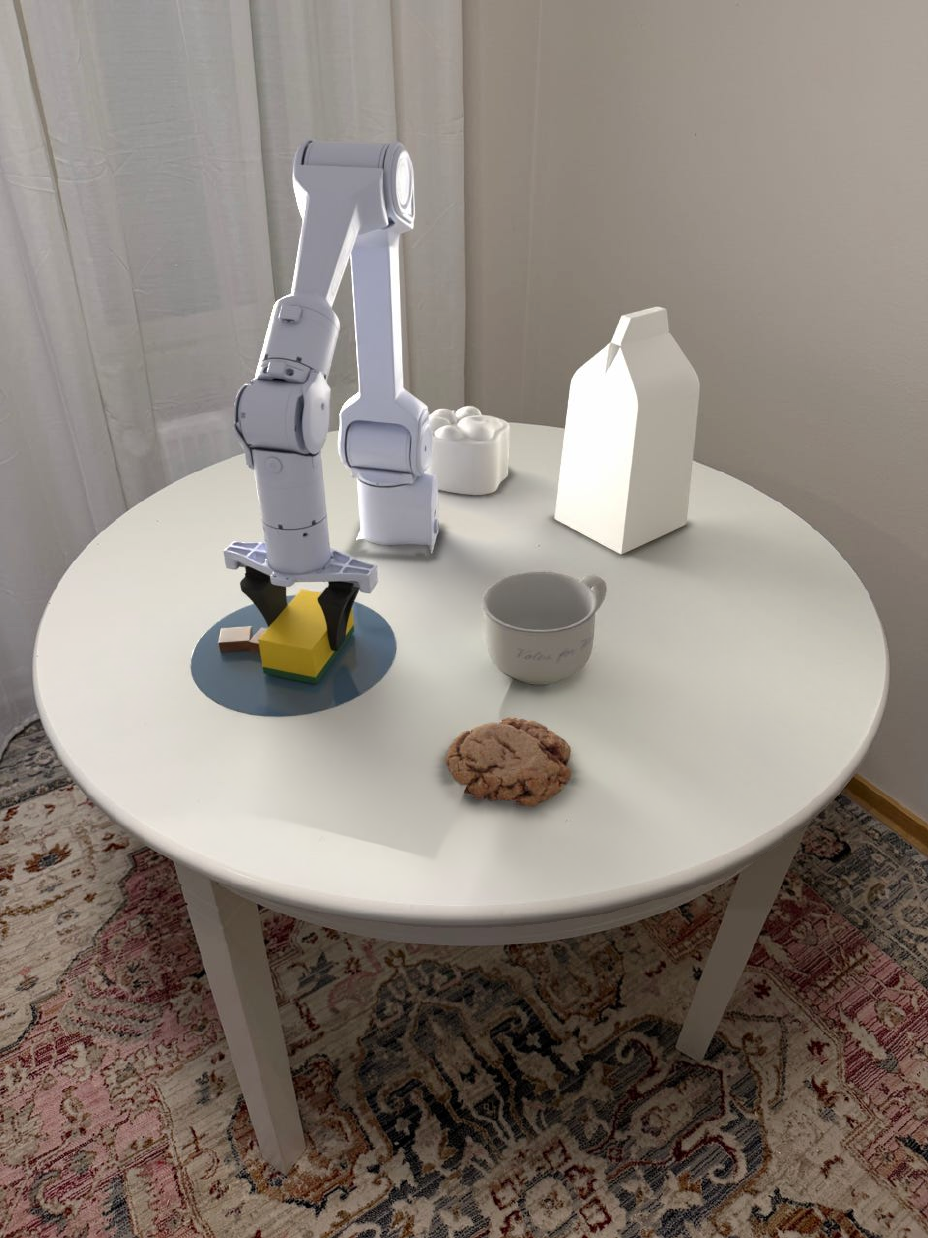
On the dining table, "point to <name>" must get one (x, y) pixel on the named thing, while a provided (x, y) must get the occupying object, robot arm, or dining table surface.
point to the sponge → (299, 641)
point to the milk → (630, 437)
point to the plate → (256, 693)
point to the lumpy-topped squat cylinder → (468, 451)
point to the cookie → (510, 761)
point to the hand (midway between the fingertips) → (309, 639)
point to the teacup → (541, 624)
